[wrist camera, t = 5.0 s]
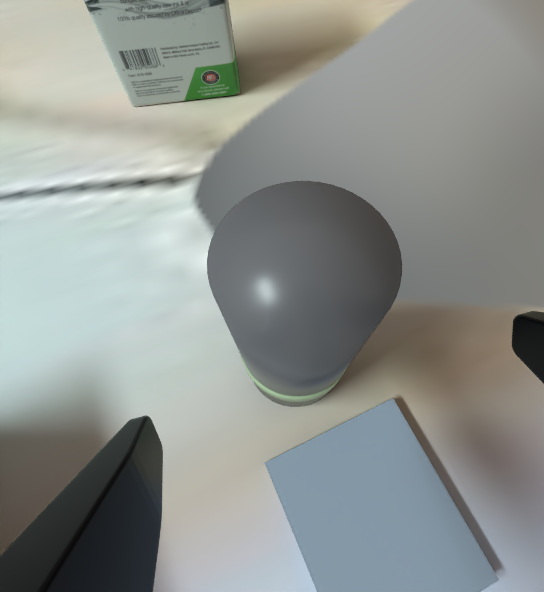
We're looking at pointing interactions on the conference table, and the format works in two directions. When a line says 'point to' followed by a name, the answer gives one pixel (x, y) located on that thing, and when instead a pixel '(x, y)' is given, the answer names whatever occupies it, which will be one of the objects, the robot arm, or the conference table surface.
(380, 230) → the cartridge
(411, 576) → the slate mat
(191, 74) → the ink box
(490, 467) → the conference table surface
